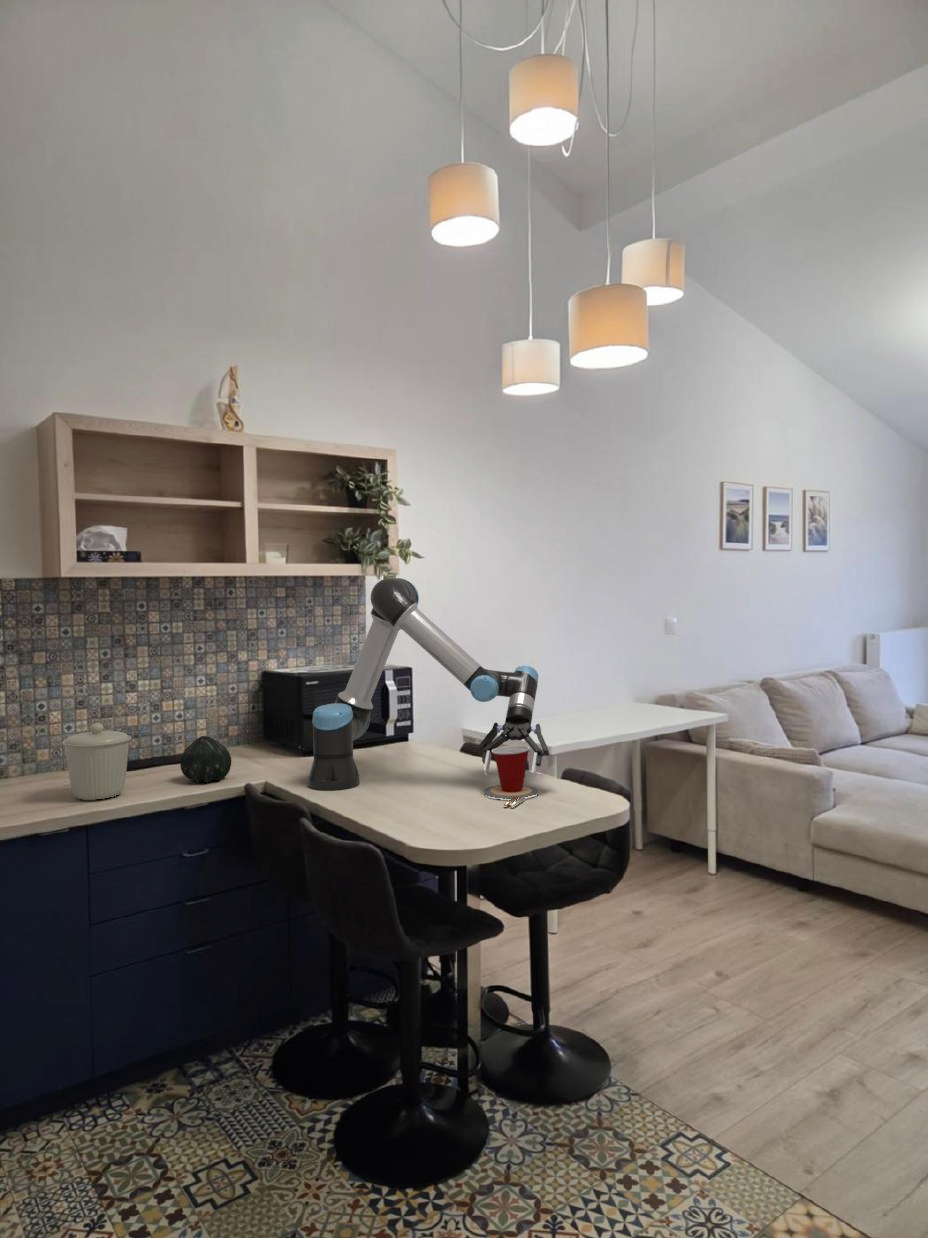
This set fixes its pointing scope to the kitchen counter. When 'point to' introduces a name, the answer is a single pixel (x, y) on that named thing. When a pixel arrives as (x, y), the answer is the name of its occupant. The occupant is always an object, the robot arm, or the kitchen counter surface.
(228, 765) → the squash
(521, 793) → the coaster
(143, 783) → the kitchen counter surface
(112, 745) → the canister
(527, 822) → the kitchen counter surface
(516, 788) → the plastic cup
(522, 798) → the wire stubs
